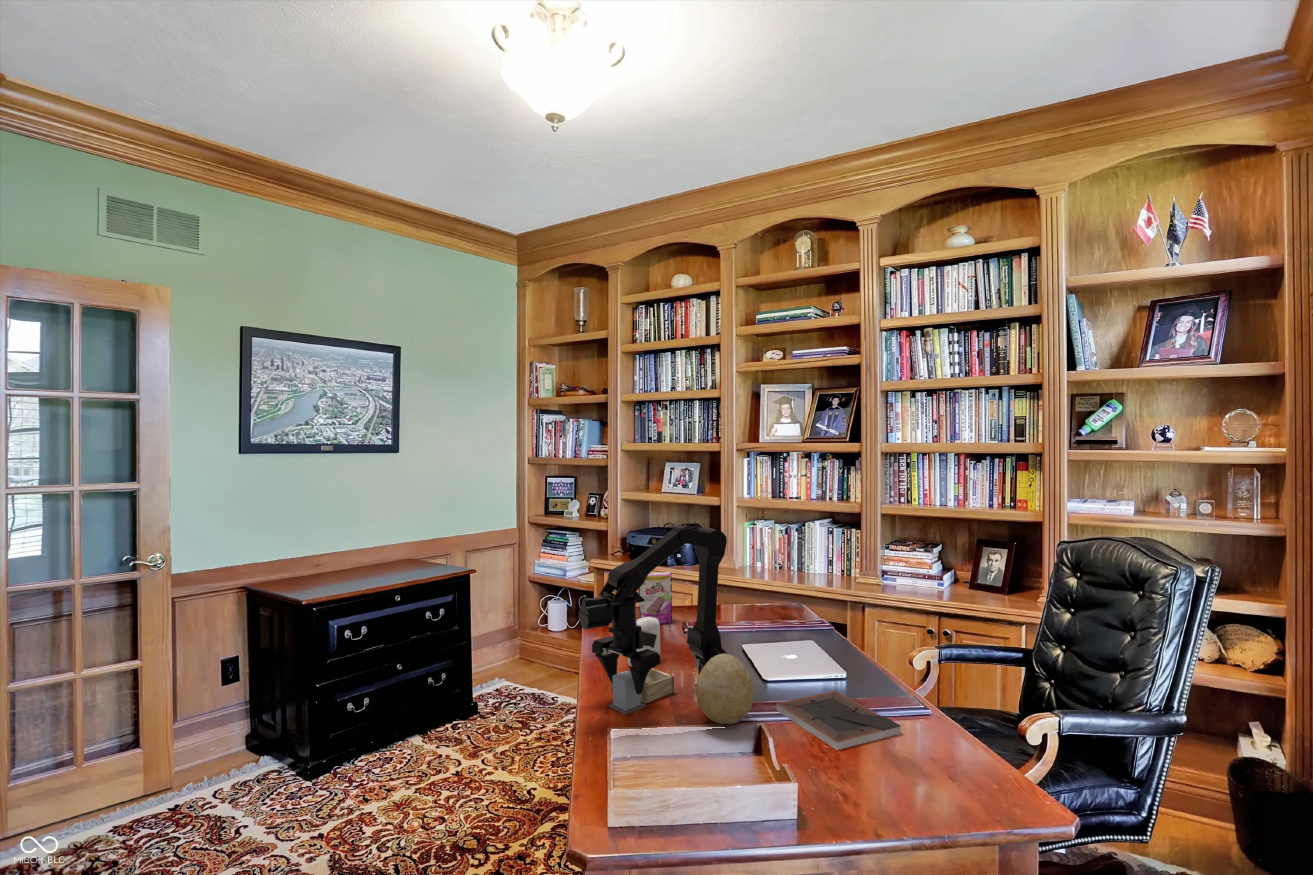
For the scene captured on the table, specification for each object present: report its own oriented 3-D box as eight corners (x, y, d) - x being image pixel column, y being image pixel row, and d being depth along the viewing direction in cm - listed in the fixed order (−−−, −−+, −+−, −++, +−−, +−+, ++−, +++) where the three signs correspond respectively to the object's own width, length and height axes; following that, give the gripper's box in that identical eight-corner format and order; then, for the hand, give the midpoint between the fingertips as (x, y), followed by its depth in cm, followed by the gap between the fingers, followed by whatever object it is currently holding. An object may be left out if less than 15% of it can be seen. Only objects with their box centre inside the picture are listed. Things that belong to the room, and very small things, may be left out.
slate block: (640, 704, 161) (639, 675, 161) (625, 710, 158) (624, 680, 158) (627, 699, 165) (627, 670, 164) (613, 705, 162) (612, 675, 161)
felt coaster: (645, 706, 161) (645, 704, 161) (625, 714, 157) (625, 712, 157) (628, 699, 166) (628, 697, 166) (609, 707, 162) (609, 705, 162)
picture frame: (901, 736, 144) (835, 699, 164) (900, 725, 144) (835, 689, 164) (836, 753, 138) (776, 713, 157) (836, 741, 138) (776, 702, 157)
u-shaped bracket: (674, 692, 170) (673, 676, 169) (645, 703, 163) (644, 686, 163) (640, 679, 179) (639, 663, 179) (611, 689, 173) (610, 673, 172)
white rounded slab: (652, 655, 197) (651, 612, 197) (663, 659, 194) (661, 615, 194) (625, 665, 190) (624, 620, 189) (635, 668, 187) (634, 623, 186)
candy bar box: (639, 625, 227) (637, 575, 227) (639, 621, 232) (638, 572, 232) (673, 624, 227) (671, 574, 227) (672, 619, 232) (671, 571, 232)
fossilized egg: (687, 716, 156) (686, 650, 155) (737, 706, 160) (736, 642, 160) (712, 739, 144) (710, 668, 143) (765, 728, 148) (763, 659, 148)
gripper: (676, 622, 160) (678, 689, 160) (625, 608, 173) (627, 670, 174) (640, 633, 152) (642, 703, 152) (589, 617, 166) (591, 682, 166)
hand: (626, 688), depth 161 cm, fingers open, 9 cm apart
